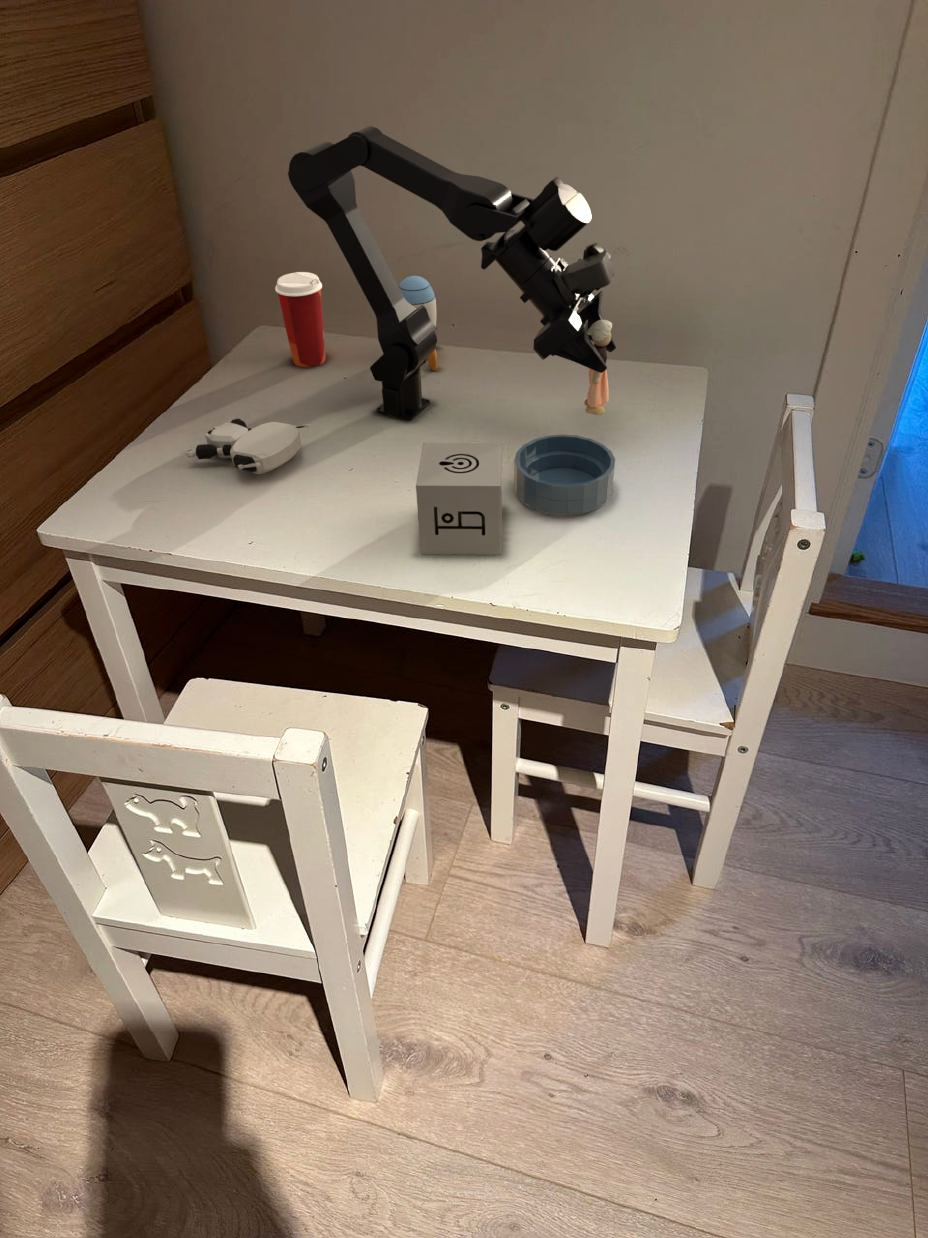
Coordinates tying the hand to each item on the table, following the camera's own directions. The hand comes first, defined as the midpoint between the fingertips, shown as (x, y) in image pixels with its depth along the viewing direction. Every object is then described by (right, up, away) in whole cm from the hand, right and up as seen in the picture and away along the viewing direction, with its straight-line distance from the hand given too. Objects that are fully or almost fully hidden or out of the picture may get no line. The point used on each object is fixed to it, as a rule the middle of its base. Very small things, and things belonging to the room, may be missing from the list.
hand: (609, 360), depth 122 cm
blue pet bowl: (-6, -18, -1) cm, 19 cm away
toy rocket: (-29, +9, +31) cm, 44 cm away
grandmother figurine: (-1, -5, +5) cm, 8 cm away
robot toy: (-51, -12, +7) cm, 53 cm away
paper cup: (-47, +9, +32) cm, 58 cm away
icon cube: (-20, -24, -8) cm, 33 cm away
